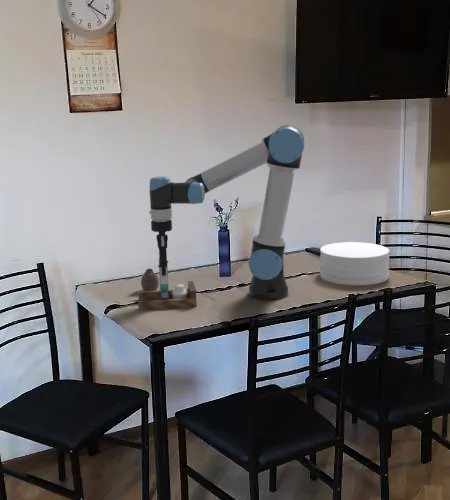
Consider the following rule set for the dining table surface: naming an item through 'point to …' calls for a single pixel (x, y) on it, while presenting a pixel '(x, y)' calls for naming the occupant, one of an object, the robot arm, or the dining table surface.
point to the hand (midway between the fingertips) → (163, 282)
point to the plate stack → (354, 263)
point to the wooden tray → (169, 302)
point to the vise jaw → (163, 287)
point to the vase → (149, 281)
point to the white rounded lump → (179, 292)
